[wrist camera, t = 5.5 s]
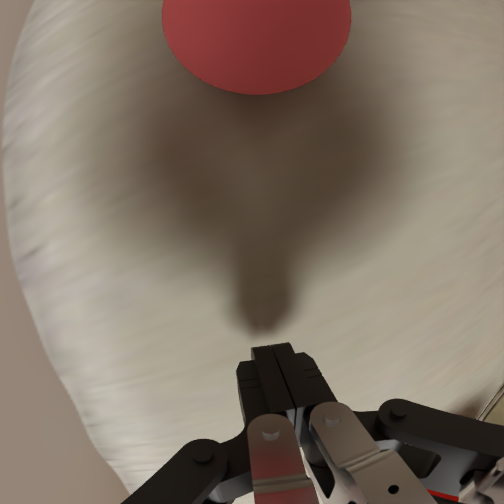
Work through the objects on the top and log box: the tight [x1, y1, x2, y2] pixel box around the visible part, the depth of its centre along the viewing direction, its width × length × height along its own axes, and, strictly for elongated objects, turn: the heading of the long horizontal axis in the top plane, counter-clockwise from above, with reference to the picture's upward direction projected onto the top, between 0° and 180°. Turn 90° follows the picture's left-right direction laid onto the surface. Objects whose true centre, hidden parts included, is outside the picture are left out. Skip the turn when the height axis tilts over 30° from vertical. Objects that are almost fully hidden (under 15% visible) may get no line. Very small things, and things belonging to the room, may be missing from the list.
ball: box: [162, 0, 351, 95], centre depth 6 cm, size 6×6×6 cm
